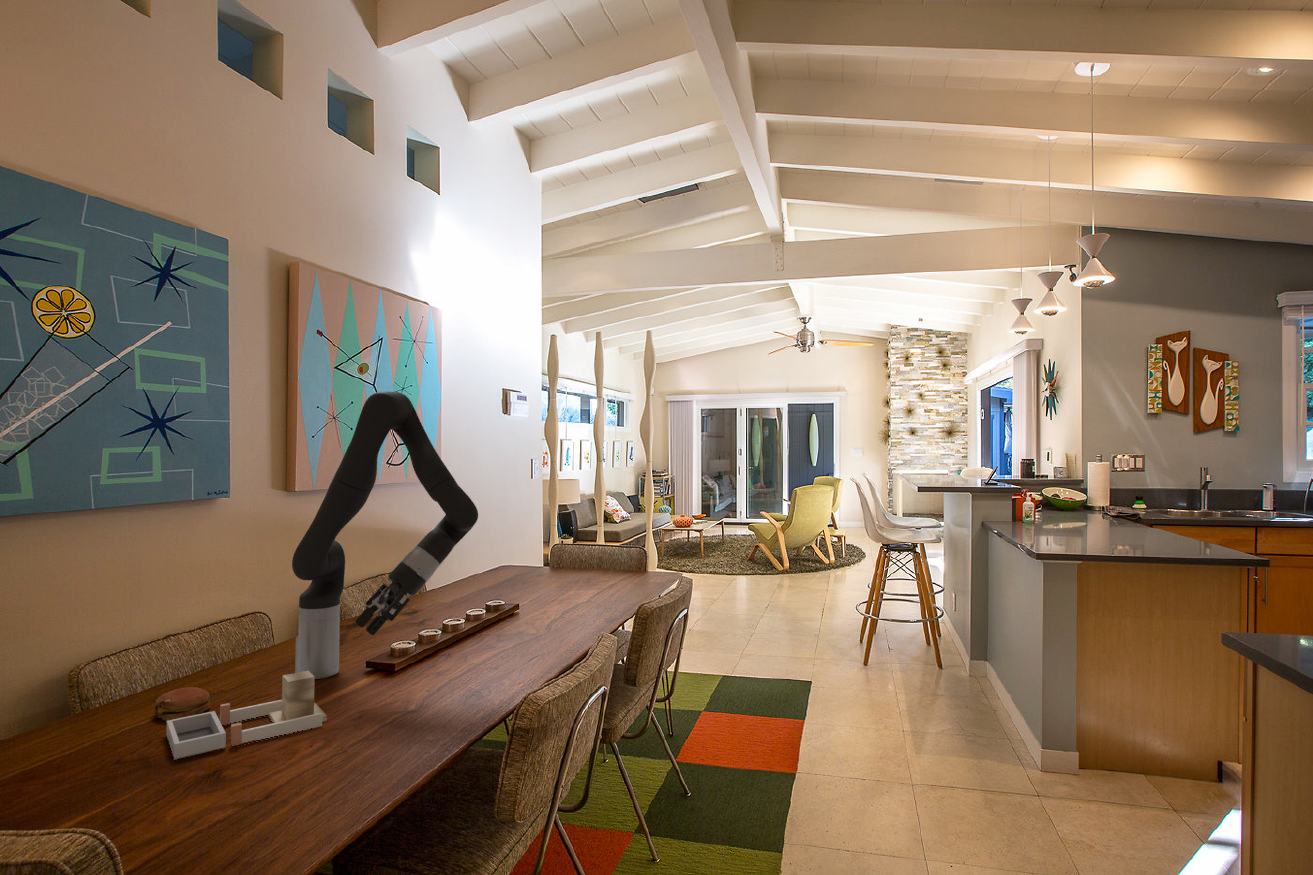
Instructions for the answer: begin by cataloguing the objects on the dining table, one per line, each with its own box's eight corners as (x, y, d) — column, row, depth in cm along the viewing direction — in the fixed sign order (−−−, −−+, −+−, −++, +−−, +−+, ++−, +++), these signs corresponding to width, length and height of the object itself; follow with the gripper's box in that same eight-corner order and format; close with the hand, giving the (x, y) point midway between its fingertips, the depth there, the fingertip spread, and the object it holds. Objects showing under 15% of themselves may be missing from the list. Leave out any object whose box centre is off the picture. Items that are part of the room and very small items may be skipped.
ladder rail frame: (304, 705, 153) (305, 687, 153) (322, 726, 142) (322, 706, 142) (219, 724, 143) (220, 704, 143) (231, 747, 132) (232, 726, 132)
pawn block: (315, 708, 152) (315, 666, 152) (326, 721, 145) (327, 677, 145) (268, 718, 146) (269, 674, 146) (278, 732, 139) (279, 686, 139)
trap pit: (214, 725, 142) (214, 711, 142) (225, 748, 131) (225, 732, 131) (166, 736, 137) (166, 720, 137) (174, 760, 126) (174, 744, 126)
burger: (217, 703, 154) (217, 682, 154) (198, 720, 145) (198, 698, 145) (167, 706, 152) (167, 685, 152) (145, 723, 143) (145, 701, 143)
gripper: (393, 556, 165) (342, 613, 158) (413, 564, 154) (359, 625, 147) (415, 576, 168) (366, 632, 161) (437, 585, 157) (385, 645, 150)
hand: (363, 628), depth 154 cm, fingers open, 8 cm apart
